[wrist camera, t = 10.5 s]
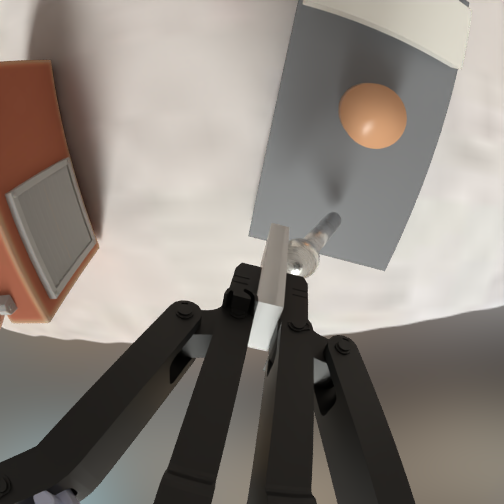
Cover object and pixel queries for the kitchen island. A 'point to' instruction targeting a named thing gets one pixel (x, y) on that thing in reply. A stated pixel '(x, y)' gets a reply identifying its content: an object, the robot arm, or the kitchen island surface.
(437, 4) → the rocker switch
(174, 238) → the kitchen island surface
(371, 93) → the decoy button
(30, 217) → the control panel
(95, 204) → the kitchen island surface
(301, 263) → the toggle lever
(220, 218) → the kitchen island surface
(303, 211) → the switch panel
